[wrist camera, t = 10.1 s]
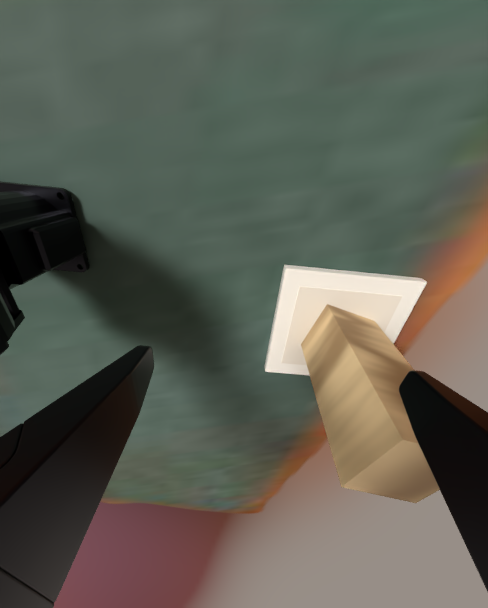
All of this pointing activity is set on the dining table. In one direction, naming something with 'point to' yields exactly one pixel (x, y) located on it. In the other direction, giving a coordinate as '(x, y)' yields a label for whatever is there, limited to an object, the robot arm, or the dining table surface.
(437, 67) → the dining table surface
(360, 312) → the tile
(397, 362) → the oak block
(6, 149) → the dining table surface
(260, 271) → the dining table surface
